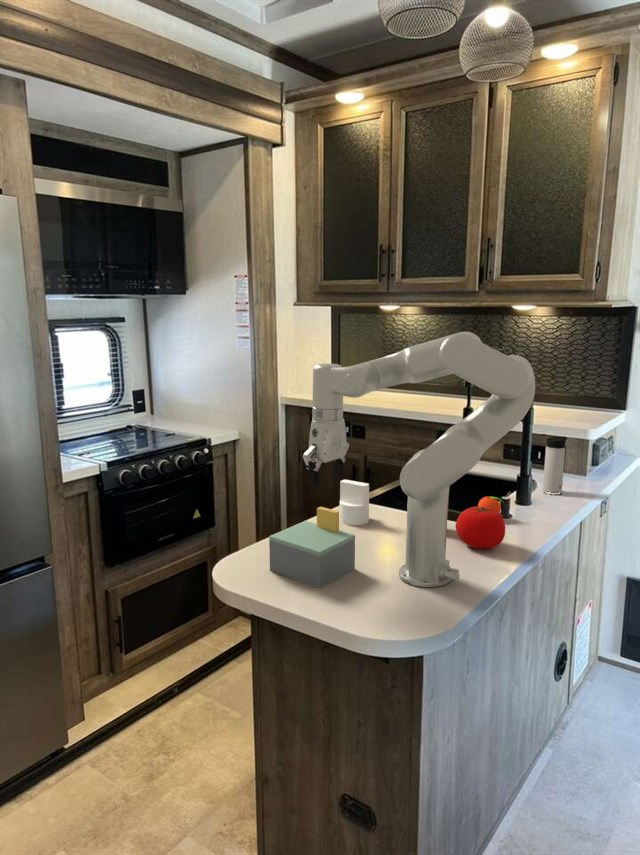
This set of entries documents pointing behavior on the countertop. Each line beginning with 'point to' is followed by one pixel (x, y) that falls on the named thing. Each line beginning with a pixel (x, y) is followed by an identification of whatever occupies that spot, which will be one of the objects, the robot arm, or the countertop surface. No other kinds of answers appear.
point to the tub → (312, 563)
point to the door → (315, 534)
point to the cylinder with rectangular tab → (354, 502)
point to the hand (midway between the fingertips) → (326, 481)
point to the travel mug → (554, 464)
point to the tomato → (480, 527)
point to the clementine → (490, 503)
